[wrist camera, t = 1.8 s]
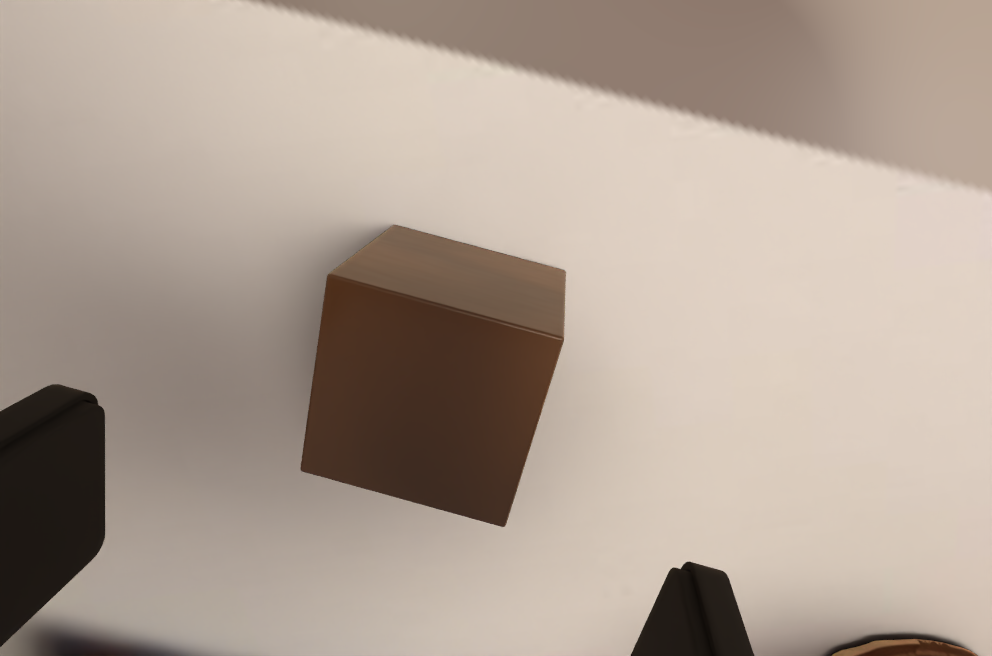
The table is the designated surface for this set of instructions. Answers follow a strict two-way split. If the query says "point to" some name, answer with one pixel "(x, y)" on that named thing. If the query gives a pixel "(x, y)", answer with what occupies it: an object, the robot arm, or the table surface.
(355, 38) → the table surface
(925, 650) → the coffee cup
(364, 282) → the block
